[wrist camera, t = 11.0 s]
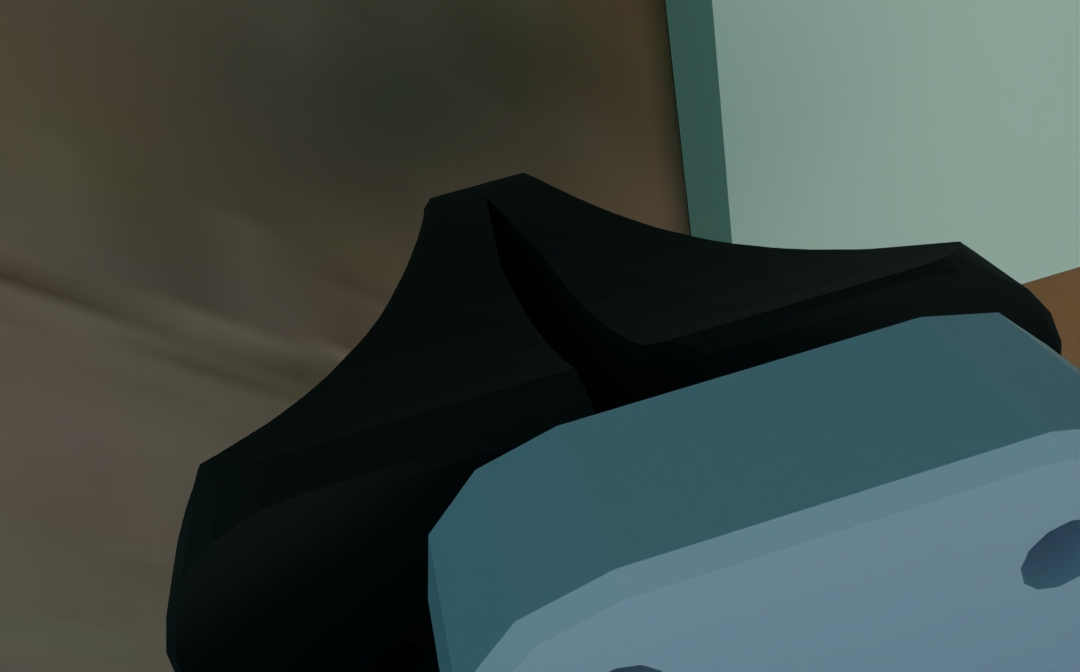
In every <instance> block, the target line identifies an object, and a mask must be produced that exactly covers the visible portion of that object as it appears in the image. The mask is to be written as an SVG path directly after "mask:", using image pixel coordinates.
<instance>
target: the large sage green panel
mask: <svg viewBox="0 0 1080 672" xmlns="http://www.w3.org/2000/svg"><path fill="white" fill-rule="evenodd" d="M665 2H666V11H667V20H668V29H669V38H670V47H671V57H672V66H673V75H674V84H675V93H676V102H677V111H678V120H679V129H680V138H681V147H682V156H683V166H684V175H685V184H686V193H687V202H688V211H689V220H690V229H691V236H694V237H699V238H703V239H708V240H714V241H720V242H727V243H733V244H743V245H753V246H762V247H772V248H788V249H875V248H887V247H899V246H911V245H923V244H934V243H946V242H958V241H959V242H961V243H963V244H964V245H966V246H967V247H969V248H970V249H972V250H973V251H975V252H976V253H978V254H979V255H980V256H982V257H983V258H985V259H986V260H987V261H989V262H990V263H992V264H993V265H995V266H996V267H997V268H999V269H1000V270H1002V271H1003V272H1004V273H1006V274H1007V275H1009V276H1010V277H1011V278H1013V279H1014V280H1016V281H1017V282H1019V283H1020V284H1023V283H1027V282H1030V281H1033V280H1037V279H1040V278H1043V277H1047V276H1050V275H1053V274H1057V273H1060V272H1063V271H1067V270H1070V269H1073V268H1077V267H1080V0H665Z"/></svg>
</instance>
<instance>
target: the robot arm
mask: <svg viewBox="0 0 1080 672" xmlns="http://www.w3.org/2000/svg"><path fill="white" fill-rule="evenodd" d="M166 652H167V655H168V657H169V659H170V662H171V664H172V667H173V669H174V671H175V672H1080V370H1079V369H1078V368H1076V367H1075V366H1074V365H1072V364H1071V363H1070V362H1069V361H1067V360H1066V359H1065V358H1063V357H1062V356H1061V340H1060V337H1059V335H1058V332H1057V329H1056V326H1055V324H1054V321H1053V318H1052V315H1051V313H1050V312H1049V311H1048V310H1047V309H1046V307H1045V306H1044V305H1043V304H1042V303H1041V302H1040V301H1039V300H1038V299H1037V298H1036V297H1035V296H1034V295H1033V294H1032V293H1031V292H1030V290H1028V289H1027V288H1026V287H1024V286H1023V285H1021V284H1020V283H1019V282H1017V281H1016V280H1014V279H1013V278H1011V277H1010V276H1009V275H1007V274H1006V273H1004V272H1003V271H1002V270H1000V269H999V268H997V267H996V266H995V265H993V264H992V263H990V262H989V261H987V260H986V259H985V258H983V257H982V256H980V255H979V254H978V253H976V252H975V251H973V250H972V249H970V248H969V247H967V246H966V245H964V244H963V243H961V242H959V241H958V242H946V243H934V244H923V245H911V246H899V247H887V248H875V249H788V248H772V247H762V246H753V245H743V244H733V243H727V242H720V241H714V240H708V239H703V238H699V237H694V236H689V235H685V234H680V233H676V232H671V231H667V230H663V229H660V228H656V227H653V226H649V225H646V224H643V223H640V222H637V221H634V220H631V219H629V218H626V217H623V216H620V215H617V214H614V213H612V212H609V211H607V210H604V209H602V208H599V207H597V206H594V205H592V204H590V203H587V202H585V201H583V200H581V199H578V198H576V197H574V196H572V195H570V194H567V193H565V192H563V191H561V190H559V189H557V188H555V187H553V186H551V185H549V184H547V183H545V182H543V181H541V180H539V179H536V178H534V177H532V176H530V175H528V174H525V173H521V174H517V175H513V176H510V177H506V178H502V179H499V180H495V181H491V182H488V183H484V184H480V185H477V186H473V187H470V188H466V189H462V190H459V191H455V192H451V193H448V194H444V195H440V196H437V197H433V198H430V200H429V202H428V203H427V205H426V207H425V208H424V217H423V222H422V226H421V229H420V233H419V236H418V239H417V242H416V245H415V247H414V250H413V252H412V255H411V257H410V260H409V263H408V265H407V267H406V270H405V272H404V274H403V276H402V278H401V280H400V282H399V284H398V286H397V288H396V289H395V291H394V293H393V295H392V297H391V299H390V301H389V303H388V305H387V306H386V308H385V309H384V311H383V313H382V314H381V316H380V317H379V319H378V320H377V321H376V323H375V324H374V325H373V327H372V328H371V329H370V331H369V332H368V333H367V335H366V336H365V337H364V338H363V339H362V341H361V342H360V343H359V344H358V345H357V346H356V347H355V348H354V349H353V350H352V351H351V352H350V353H349V354H348V355H347V356H346V357H345V358H344V359H343V360H342V362H341V363H340V364H339V365H338V366H337V367H336V368H335V369H334V370H333V371H332V372H331V373H330V374H329V375H328V376H327V377H326V378H325V379H324V380H323V381H321V382H320V383H319V384H318V385H317V386H315V387H314V388H313V389H312V390H311V391H310V392H308V393H307V394H306V395H305V396H304V397H302V398H301V399H300V400H299V401H297V402H296V403H295V404H293V405H292V406H291V407H289V408H288V409H287V410H285V411H284V412H283V413H282V414H280V415H279V416H277V417H276V418H274V419H273V420H272V421H270V422H269V423H267V424H266V425H264V426H263V427H261V428H260V429H258V430H256V431H255V432H253V433H251V434H250V435H248V436H247V437H245V438H243V439H242V440H240V441H239V442H237V443H235V444H234V445H232V446H230V447H229V448H227V449H226V450H224V451H222V452H221V453H219V454H217V455H216V456H214V457H212V458H210V459H209V460H207V461H205V462H203V463H201V464H200V466H199V469H198V472H197V476H196V480H195V483H194V487H193V490H192V493H191V496H190V499H189V501H188V504H187V507H186V511H185V515H184V519H183V523H182V527H181V530H180V534H179V538H178V543H177V549H176V555H175V562H174V569H173V576H172V582H171V589H170V596H169V602H168V609H167V616H166Z"/></svg>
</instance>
